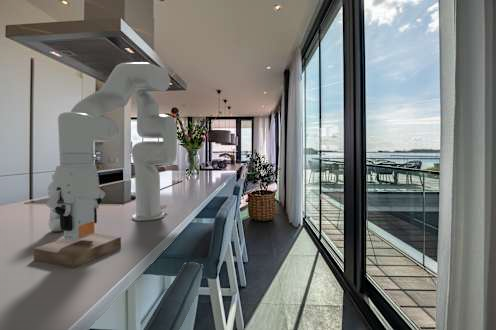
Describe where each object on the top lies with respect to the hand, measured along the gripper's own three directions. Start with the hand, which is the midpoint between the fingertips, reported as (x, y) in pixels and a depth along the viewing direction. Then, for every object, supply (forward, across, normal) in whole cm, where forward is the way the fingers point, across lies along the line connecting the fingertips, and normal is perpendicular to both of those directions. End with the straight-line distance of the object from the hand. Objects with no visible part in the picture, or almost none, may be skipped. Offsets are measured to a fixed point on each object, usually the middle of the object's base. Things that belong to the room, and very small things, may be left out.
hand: (79, 225), depth 69 cm
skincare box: (+3, 0, 0) cm, 3 cm away
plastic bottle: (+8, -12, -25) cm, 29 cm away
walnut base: (+7, 0, 0) cm, 7 cm away
